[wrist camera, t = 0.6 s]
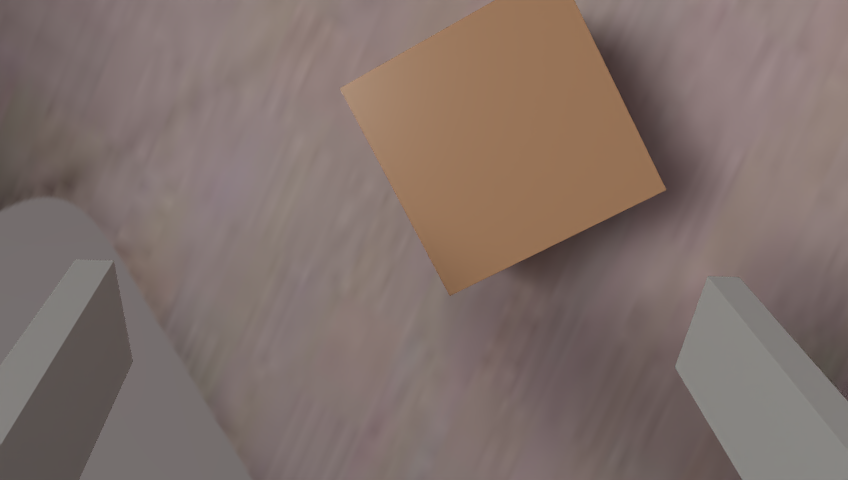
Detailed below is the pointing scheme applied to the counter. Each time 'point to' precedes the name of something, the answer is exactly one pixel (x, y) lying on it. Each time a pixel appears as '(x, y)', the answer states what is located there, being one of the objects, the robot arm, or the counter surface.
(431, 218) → the tan square cardboard-colored block
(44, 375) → the robot arm
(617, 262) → the counter surface
